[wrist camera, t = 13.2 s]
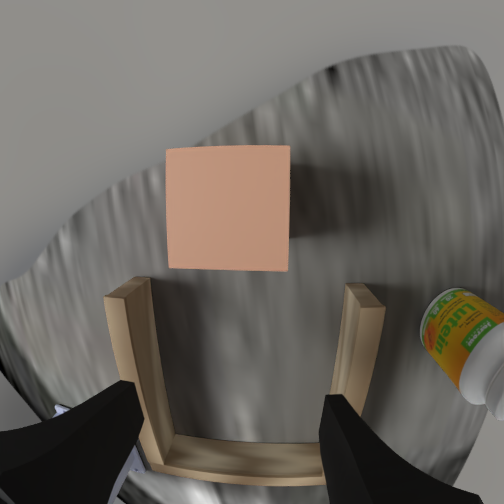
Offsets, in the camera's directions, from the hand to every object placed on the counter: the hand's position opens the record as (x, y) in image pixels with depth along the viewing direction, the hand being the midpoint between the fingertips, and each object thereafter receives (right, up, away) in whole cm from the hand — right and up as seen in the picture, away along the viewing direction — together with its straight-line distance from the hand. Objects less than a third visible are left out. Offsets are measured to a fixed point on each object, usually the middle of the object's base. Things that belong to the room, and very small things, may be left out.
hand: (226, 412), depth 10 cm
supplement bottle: (+15, +1, +8) cm, 18 cm away
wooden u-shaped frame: (0, -4, +10) cm, 11 cm away
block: (0, +9, +8) cm, 12 cm away
